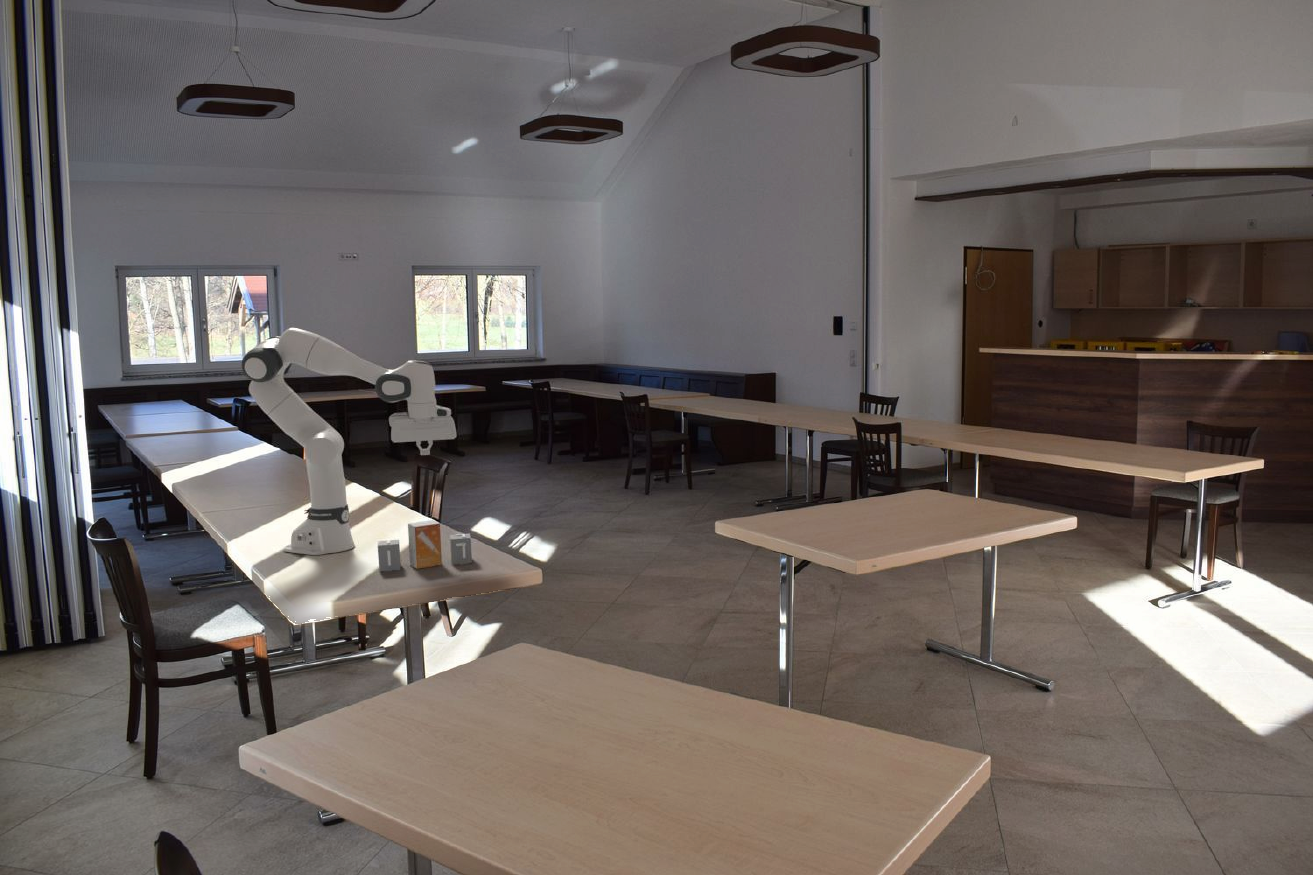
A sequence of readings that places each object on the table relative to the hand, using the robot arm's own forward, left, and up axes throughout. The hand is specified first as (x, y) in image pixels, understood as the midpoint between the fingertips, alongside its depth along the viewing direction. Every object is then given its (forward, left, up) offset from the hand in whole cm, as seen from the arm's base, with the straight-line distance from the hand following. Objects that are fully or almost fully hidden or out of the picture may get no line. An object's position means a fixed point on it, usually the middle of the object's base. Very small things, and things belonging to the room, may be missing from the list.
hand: (425, 454), depth 309 cm
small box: (+8, -17, -31) cm, 37 cm away
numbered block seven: (+17, -11, -31) cm, 37 cm away
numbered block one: (-1, -22, -31) cm, 38 cm away
